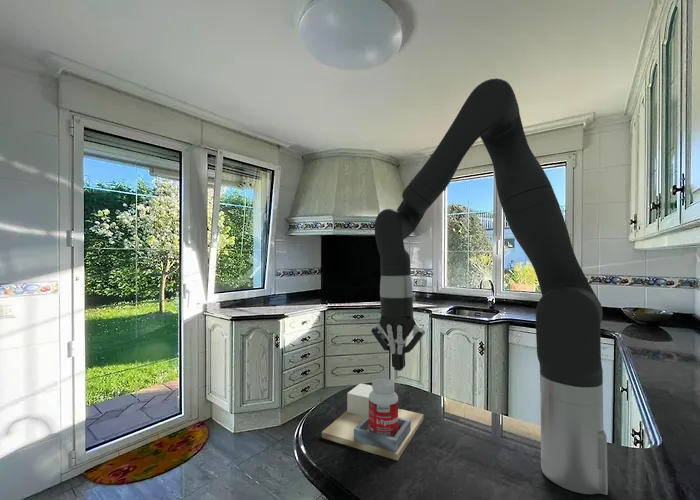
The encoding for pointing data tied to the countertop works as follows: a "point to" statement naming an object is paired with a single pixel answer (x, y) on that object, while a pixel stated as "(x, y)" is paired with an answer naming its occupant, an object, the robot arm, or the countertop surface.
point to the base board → (357, 433)
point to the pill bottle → (383, 408)
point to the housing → (359, 400)
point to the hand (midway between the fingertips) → (398, 369)
